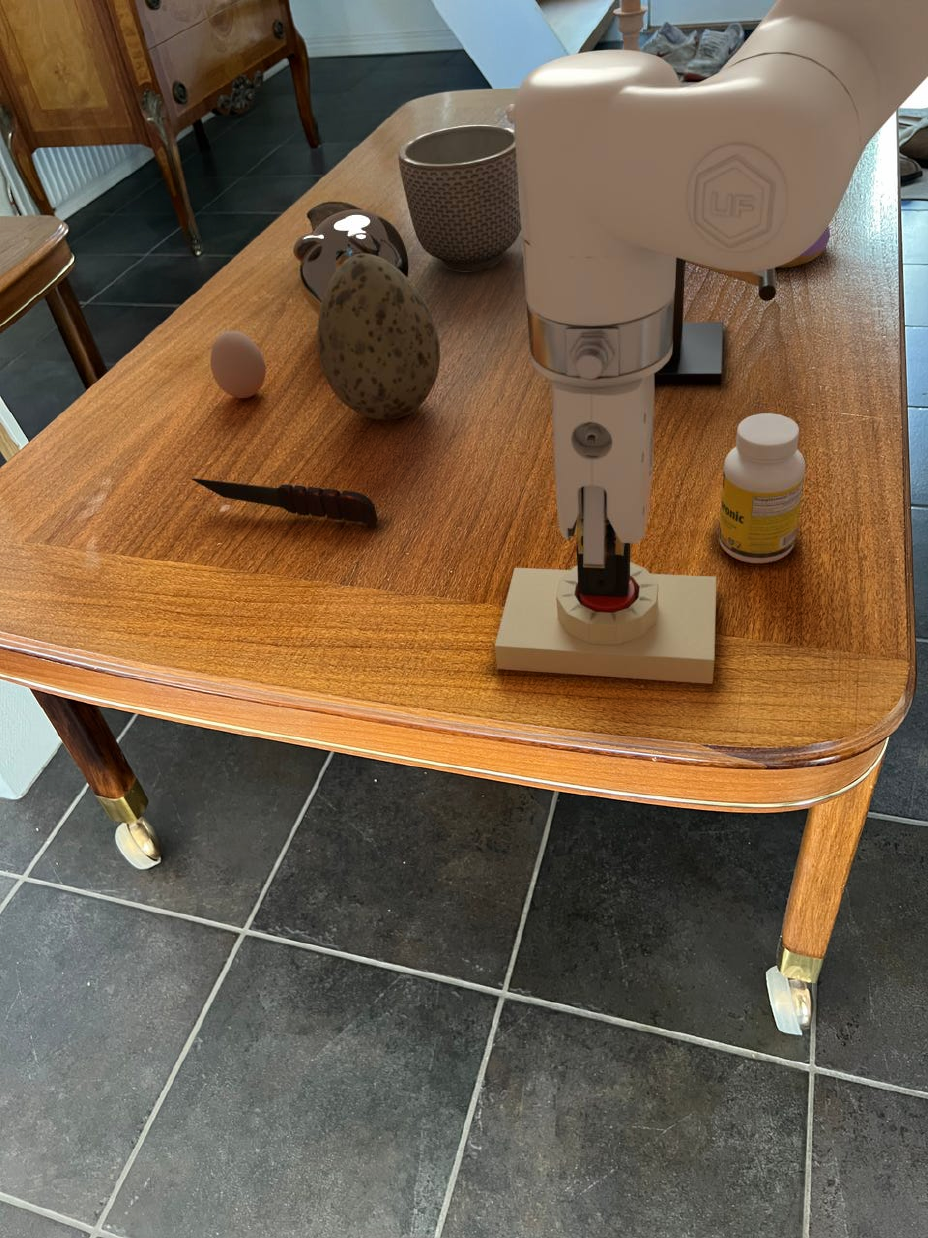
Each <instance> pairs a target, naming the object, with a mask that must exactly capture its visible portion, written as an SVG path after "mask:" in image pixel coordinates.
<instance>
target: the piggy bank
mask: <svg viewBox="0 0 928 1238" xmlns="http://www.w3.org/2000/svg"><path fill="white" fill-rule="evenodd" d="M361 209H362V208H360V209H351V210H345V211H341V212H338V213H335V214H333V215H331V216H329V217H327V218H326V219H325V220H323V221H322V222H321V223H320V224H319V225H318V226H317V227H316V228H315V229H314V230H312V232H311V233H307V234H304V235H302V236H300V237H299V238H297V240H296V241H295V243H294V246H293V250H292V251H293V256H294V257H295V258H296V259H297V261H299V281H300V287H301V290H302V292H303V295H304V298H305V300H306V301H307V303H308V305H309V306H310V307H311V309H312V310H313V312H315V313H316V314H317V315H318V316H319V313H320V307H321V303H322V299H323V296H324V293H325V290H326V288H327V286H328V284H329V281H330V280H331V278H332V276H333V274H334V273H335V271H336V270H337V269H338V268H339V266H340V265H341V264H342V263H343V262H344V261H345V260H347V259H348V258H350V257H351V256H354V255H357V254H372V255H375V256H378V257H381V258H383V259H385V260H386V261H388V262H389V263H391V264H392V265H394V266H395V267H396V268H397V269H399V270H400V271H401V272H402V273H403V274H404V275H405V276H406V277H407V278H408V279H409V257H408V252H407V249H406V245H405V243H404V240H403V238H402V236H401V234H400V232H399V231H398V230H397V228H396V227H395V226H394V225H393V224H392V223H391V222H390V221H389V220H388V219H386V218H385V217H383V216H382V215H381V214H379V213H376V212H374V211H370V210H368V209H367V210H366V209H362V210H361Z"/></svg>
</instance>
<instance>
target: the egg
mask: <svg viewBox="0 0 928 1238" xmlns="http://www.w3.org/2000/svg"><path fill="white" fill-rule="evenodd" d="M210 369H211V373H212V376H213V379H214V381H215V382H216V384H217V386H218V387H219V388H220V390H222V391H223V392H224V393H226V394H227V395H229V396H232V397H233V398H237V399H248V398H251V397H253V396H255V395H256V394H257V393H258V392H259V391H260V389H261V388H262V386H263V384H264V382H265V379H266V373H267V372H266V370H267V369H266V362H265V359H264V357H263V354H262V352H261V351H260V348H259V347H258V346H257V344H256V343H255V342H254V341H253V340H252V338H250V337H249V336H248V335H246V334H245V333H243V332H241V331H237V330H226V331H224V332H222V333H220V334H219V335H218V337H216V338H215V341H214V342H213V344H212V346H211V352H210Z"/></svg>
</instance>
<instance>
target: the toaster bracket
mask: <svg viewBox="0 0 928 1238" xmlns="http://www.w3.org/2000/svg"><path fill="white" fill-rule="evenodd" d="M685 277H686V262H685V261H684V259H680V258H677V257H676V276H675V293H674V318H673V349H672V355H671V357H670V359H669V361H668V362H667V363H666V364H665V365H664V366H663V368H661V369H660V370H659V371H657V372H656V373H654V386H721V385H722V376H723V352H724V351H723V346H724V321H687V322H684V304H685V303H684V302H685V283H686V281H685Z"/></svg>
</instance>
